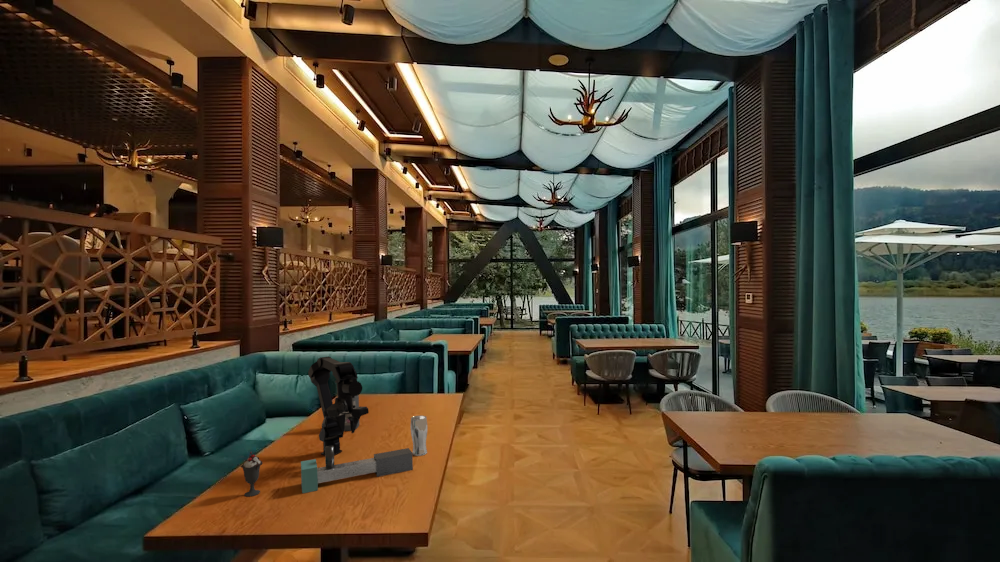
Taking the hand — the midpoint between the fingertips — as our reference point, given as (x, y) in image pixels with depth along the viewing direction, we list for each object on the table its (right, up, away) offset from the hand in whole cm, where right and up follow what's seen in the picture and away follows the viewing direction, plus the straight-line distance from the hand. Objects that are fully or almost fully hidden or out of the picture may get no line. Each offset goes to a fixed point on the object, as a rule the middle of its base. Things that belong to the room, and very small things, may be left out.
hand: (347, 432), depth 187 cm
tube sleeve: (+21, -11, -11) cm, 26 cm away
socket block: (-6, -12, -23) cm, 27 cm away
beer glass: (+28, -11, +7) cm, 31 cm away
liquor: (-15, -13, +47) cm, 51 cm away
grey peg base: (+5, -10, -18) cm, 21 cm away
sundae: (-24, -12, -27) cm, 38 cm away
